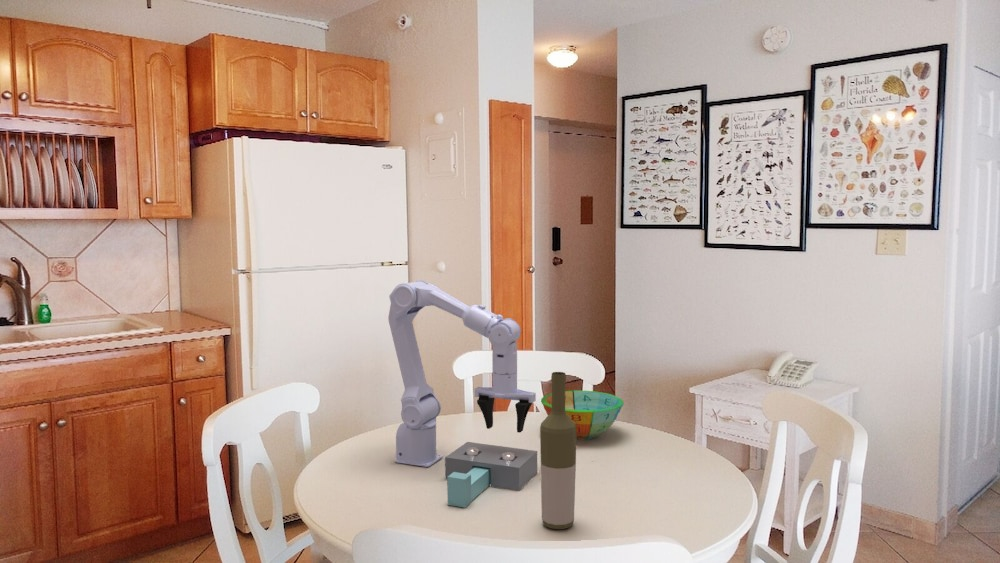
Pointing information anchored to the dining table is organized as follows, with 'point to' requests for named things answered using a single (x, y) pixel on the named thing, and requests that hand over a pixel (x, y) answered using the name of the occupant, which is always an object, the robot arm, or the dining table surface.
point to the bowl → (588, 411)
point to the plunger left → (472, 451)
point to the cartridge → (467, 485)
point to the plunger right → (508, 456)
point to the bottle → (558, 460)
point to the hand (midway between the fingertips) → (504, 429)
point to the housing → (495, 464)
